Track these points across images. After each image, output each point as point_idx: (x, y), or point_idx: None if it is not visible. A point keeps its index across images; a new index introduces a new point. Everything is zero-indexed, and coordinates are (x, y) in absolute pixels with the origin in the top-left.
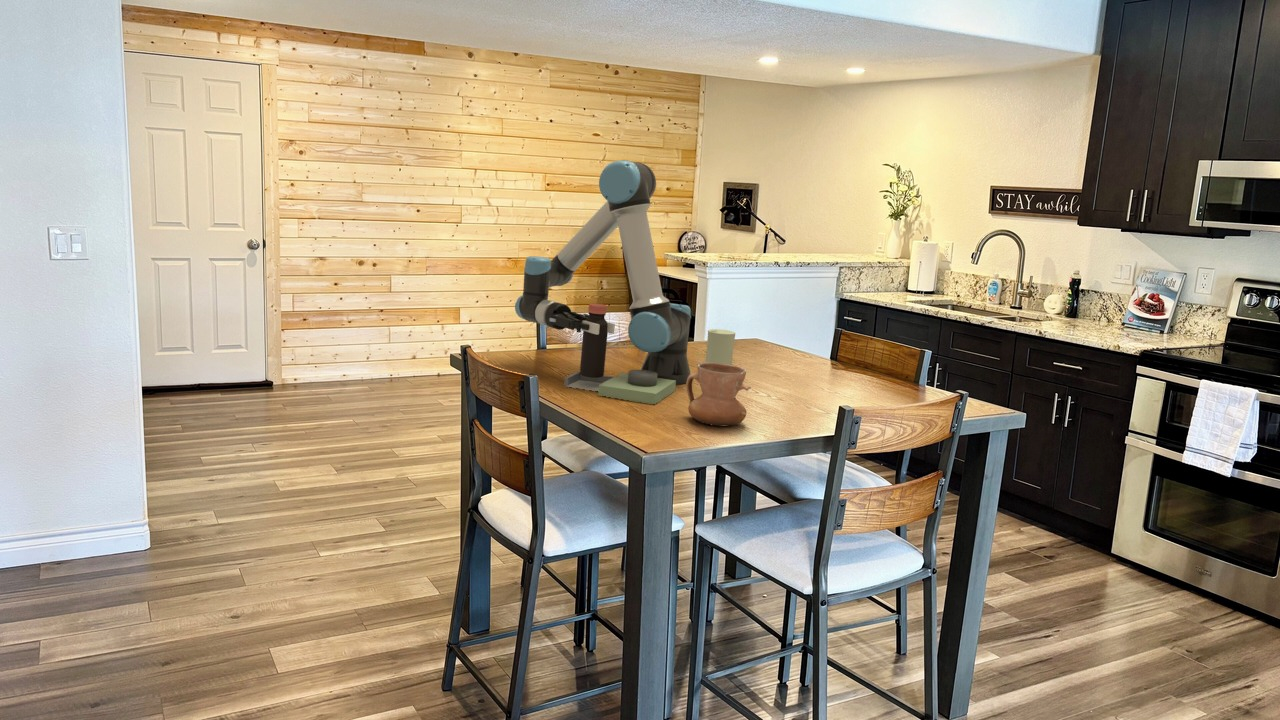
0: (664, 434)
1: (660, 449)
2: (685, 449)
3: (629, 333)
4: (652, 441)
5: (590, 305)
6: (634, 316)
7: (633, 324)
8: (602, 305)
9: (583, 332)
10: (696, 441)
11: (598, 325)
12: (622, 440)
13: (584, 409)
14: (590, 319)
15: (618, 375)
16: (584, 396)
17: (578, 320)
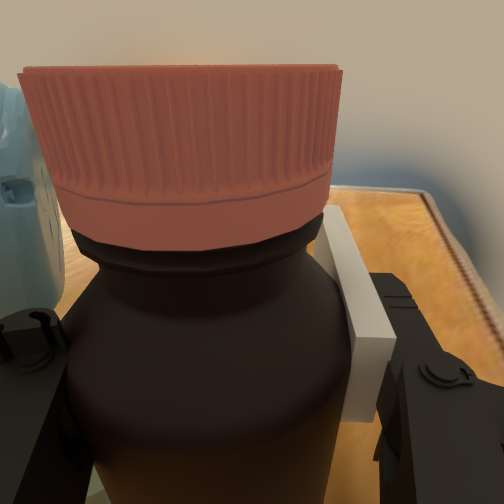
0: (355, 213)
1: (397, 194)
2: (365, 189)
3: (47, 266)
4: (391, 206)
5: (337, 73)
6: (8, 141)
7: (37, 196)
8: (158, 65)
9: (334, 443)
10: (332, 195)
11: (329, 209)
12: (433, 215)
13: (438, 322)
14: (313, 264)
15: (93, 490)
16: (376, 425)
17: (457, 378)
